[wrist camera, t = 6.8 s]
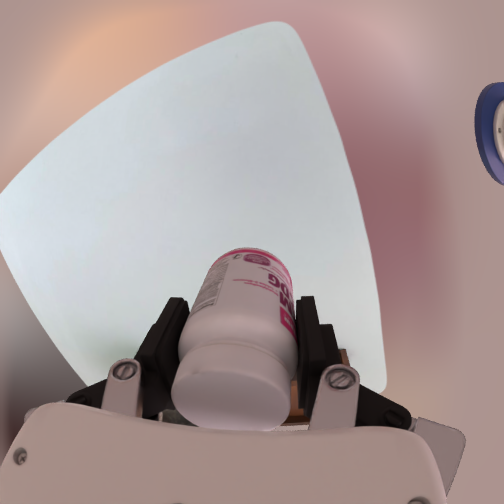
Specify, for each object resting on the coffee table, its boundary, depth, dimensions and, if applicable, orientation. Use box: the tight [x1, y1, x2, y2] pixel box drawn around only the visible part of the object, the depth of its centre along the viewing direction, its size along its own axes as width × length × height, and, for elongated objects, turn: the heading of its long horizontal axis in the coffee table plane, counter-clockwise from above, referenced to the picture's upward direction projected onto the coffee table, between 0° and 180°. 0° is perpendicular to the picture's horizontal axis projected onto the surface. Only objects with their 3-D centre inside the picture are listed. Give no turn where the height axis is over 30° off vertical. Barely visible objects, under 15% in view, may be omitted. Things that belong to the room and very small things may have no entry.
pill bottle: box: [171, 248, 299, 431], centre depth 12 cm, size 5×5×8 cm
